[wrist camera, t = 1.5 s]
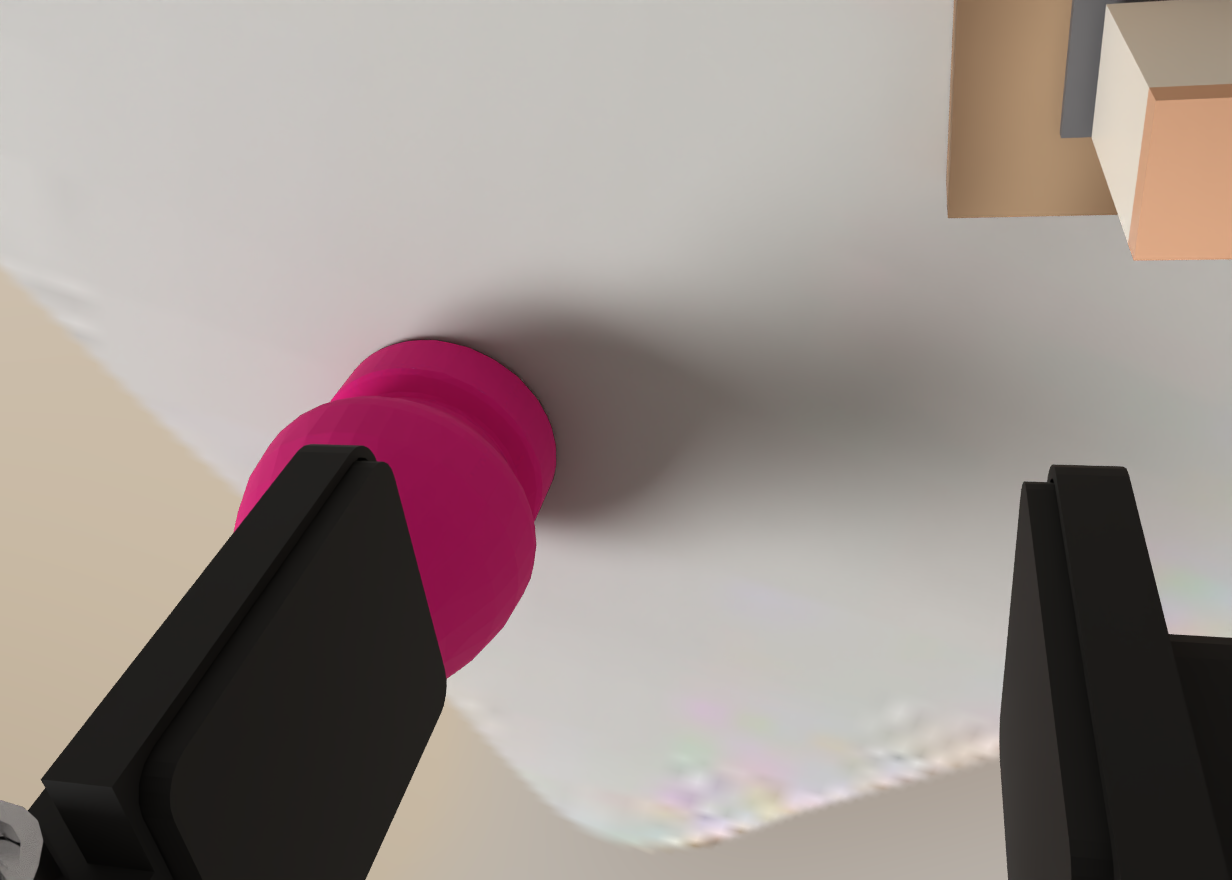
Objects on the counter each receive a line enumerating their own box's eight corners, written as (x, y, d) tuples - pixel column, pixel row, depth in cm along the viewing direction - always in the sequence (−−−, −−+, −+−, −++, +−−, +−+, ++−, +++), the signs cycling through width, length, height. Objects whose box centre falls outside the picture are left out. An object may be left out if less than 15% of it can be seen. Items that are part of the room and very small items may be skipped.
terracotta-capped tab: (1091, 137, 22) (1133, 260, 17) (1106, 4, 20) (1155, 100, 16) (1269, 131, 21) (1359, 258, 17) (1295, -8, 20) (1401, 90, 15)
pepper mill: (610, 384, 30) (249, 1230, 14) (535, 573, 34) (192, 1389, 18) (351, 279, 30) (-311, 1007, 14) (308, 481, 34) (-238, 1219, 18)
